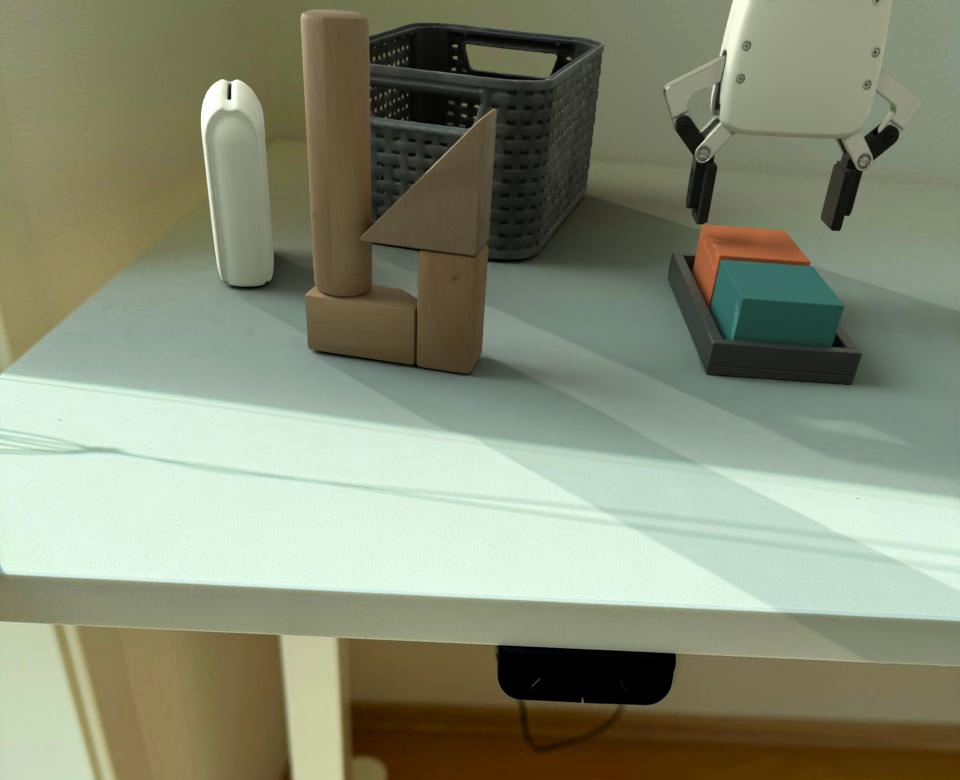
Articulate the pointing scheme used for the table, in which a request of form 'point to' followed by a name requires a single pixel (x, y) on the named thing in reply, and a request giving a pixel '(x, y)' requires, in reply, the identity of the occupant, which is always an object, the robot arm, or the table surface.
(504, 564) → the table surface
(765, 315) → the teal block
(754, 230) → the orange block
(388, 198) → the storage bin
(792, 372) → the frame
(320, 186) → the wooden block
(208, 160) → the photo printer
